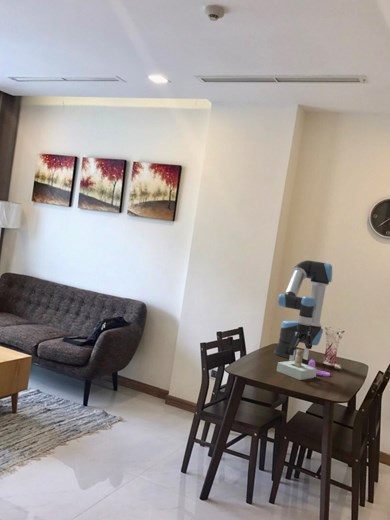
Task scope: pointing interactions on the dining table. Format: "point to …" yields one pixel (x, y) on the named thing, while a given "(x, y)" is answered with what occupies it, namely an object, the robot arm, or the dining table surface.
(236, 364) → the dining table surface
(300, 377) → the socket block
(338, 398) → the dining table surface
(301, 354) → the peg
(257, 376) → the dining table surface
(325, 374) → the bracket
